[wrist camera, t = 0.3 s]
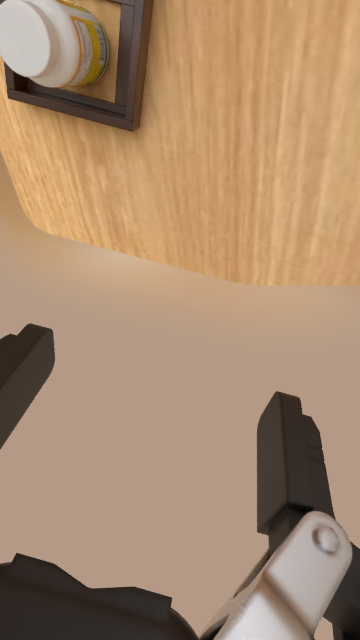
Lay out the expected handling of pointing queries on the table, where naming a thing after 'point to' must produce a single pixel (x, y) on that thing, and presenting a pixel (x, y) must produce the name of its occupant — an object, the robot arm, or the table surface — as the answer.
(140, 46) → the tray
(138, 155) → the table surface
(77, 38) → the supplement bottle
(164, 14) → the table surface
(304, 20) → the table surface
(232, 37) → the table surface
